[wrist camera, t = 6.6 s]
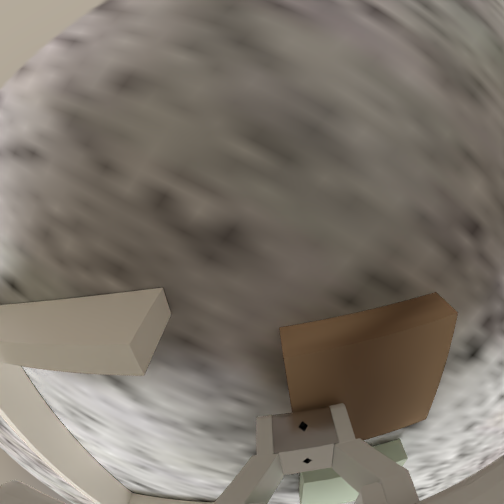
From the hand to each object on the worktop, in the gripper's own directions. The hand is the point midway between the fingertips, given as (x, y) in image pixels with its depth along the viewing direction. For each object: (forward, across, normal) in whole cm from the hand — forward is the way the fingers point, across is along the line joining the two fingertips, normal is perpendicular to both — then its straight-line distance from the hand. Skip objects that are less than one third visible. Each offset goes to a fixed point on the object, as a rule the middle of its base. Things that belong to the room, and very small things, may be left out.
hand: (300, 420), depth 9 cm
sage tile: (+2, -3, +10) cm, 11 cm away
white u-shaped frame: (+2, +9, +5) cm, 11 cm away
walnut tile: (+2, -3, 0) cm, 3 cm away
